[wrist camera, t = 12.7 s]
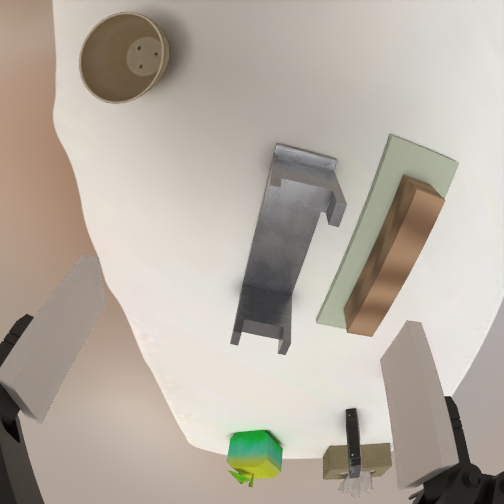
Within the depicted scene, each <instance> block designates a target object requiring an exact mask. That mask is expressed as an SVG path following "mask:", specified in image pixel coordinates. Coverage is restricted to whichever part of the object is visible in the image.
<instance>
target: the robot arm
mask: <svg viewBox="0 0 504 504" xmlns="http://www.w3.org/2000/svg"><path fill="white" fill-rule="evenodd" d="M105 306H106V302H105V297H104V290H103V284H102V277H101V270H100V263H99V258H98V257H93V256H89V255H86V254H83V256H82V257H81V258H80V259H79V260H78V262H77V263H76V264H75V265H74V266H73V268H72V269H71V270H70V271H69V273H68V274H67V275H66V277H65V278H64V279H63V280H62V281H61V283H60V284H59V285H58V286H57V288H56V289H55V290H54V292H53V293H52V294H51V295H50V297H49V298H48V299H47V301H46V302H45V304H44V305H43V306H42V307H41V309H40V310H39V311H38V313H37V314H36V316H35V317H33V316H30V315H28V314H26V315H25V316H23V317H22V318H20V319H19V320H18V321H16V323H15V324H14V326H13V327H12V328H11V330H10V331H9V334H7V335H6V337H5V338H4V341H3V342H1V344H0V504H44V501H43V499H42V496H41V493H40V490H39V487H38V485H37V482H36V479H35V476H34V473H33V470H32V466H31V463H30V460H29V457H28V452H27V449H26V445H25V442H24V438H23V434H22V429H21V425H20V420H19V417H18V415H17V414H18V412H19V410H21V411H22V412H23V413H24V415H25V416H27V417H28V418H30V419H32V420H34V421H36V422H38V423H40V424H42V422H43V420H44V418H45V416H46V414H47V412H48V410H49V408H50V406H51V403H52V402H53V400H54V398H55V396H56V394H57V392H58V390H59V388H60V386H61V384H62V382H63V380H64V378H65V376H66V375H67V373H68V371H69V369H70V367H71V365H72V363H73V362H74V360H75V357H76V356H77V354H78V353H79V351H80V349H81V347H82V345H83V344H84V342H85V340H86V338H87V337H88V335H89V333H90V331H91V330H92V328H93V326H94V325H95V323H96V321H97V320H98V318H99V316H100V314H101V313H102V311H103V309H104V308H105ZM380 362H381V367H382V373H383V378H384V384H385V390H386V396H387V402H388V409H389V415H390V422H391V430H392V437H393V445H394V453H395V463H396V473H397V485H398V490H405V489H413V488H415V487H418V486H419V485H421V484H423V486H424V489H423V490H421V491H419V492H417V493H415V494H413V495H411V496H410V497H409V499H410V500H411V499H413V498H415V497H416V499H415V500H414V501H413V504H504V472H501V473H500V474H498V475H496V476H492V475H487V474H482V473H481V471H480V469H479V468H478V467H477V466H476V465H474V464H471V463H470V459H469V455H468V450H467V445H466V441H465V437H464V433H463V429H462V424H461V420H459V419H460V416H459V413H458V408H457V406H456V404H455V403H454V401H453V400H452V398H451V396H444V394H443V390H442V387H441V383H440V380H439V376H438V373H437V370H436V366H435V363H434V360H433V357H432V354H431V350H430V347H429V344H428V341H427V338H426V335H425V332H424V330H423V327H422V324H421V322H415V321H408V320H407V321H406V323H405V324H404V326H403V327H402V329H401V330H400V332H399V333H398V335H397V336H396V338H395V339H394V341H393V342H392V344H391V345H390V347H389V348H388V349H387V351H386V352H385V354H384V355H383V357H382V358H381V359H380Z"/></svg>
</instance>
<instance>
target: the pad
mask: <svg viewBox="0 0 504 504" xmlns="http://www.w3.org/2000/svg"><path fill="white" fill-rule="evenodd" d="M458 164H459V163H458V162H456V161H454V160H452V159H450V158H448V157H445V156H443V155H441V154H439V153H436V152H434V151H432V150H429V149H427V148H424V147H422V146H419V145H417V144H414V143H412V142H409V141H407V140H404V139H402V138H399V137H396V136H394V135H391V134H390V135H389V138H388V141H387V144H386V147H385V150H384V153H383V156H382V159H381V162H380V165H379V168H378V170H377V173H376V176H375V179H374V181H373V184H372V187H371V190H370V192H369V195H368V198H367V200H366V203H365V206H364V208H363V211H362V213H361V216H360V219H359V221H358V224H357V226H356V229H355V231H354V234H353V236H352V239H351V241H350V243H349V246H348V248H347V251H346V253H345V255H344V258H343V260H342V263H341V265H340V267H339V270H338V272H337V274H336V276H335V279H334V281H333V283H332V286H331V288H330V290H329V292H328V295H327V297H326V299H325V301H324V303H323V305H322V308H321V310H320V312H319V314H318V316H317V318H316V323H317V324H323V325H328V326H333V327H339V328H344V329H346V322H345V316H344V310H343V308H344V307H345V305H346V303H347V301H348V299H349V297H350V295H351V293H352V291H353V289H354V286H355V284H356V282H357V280H358V278H359V276H360V274H361V272H362V270H363V268H364V266H365V263H366V261H367V259H368V257H369V255H370V253H371V250H372V248H373V246H374V244H375V241H376V239H377V237H378V235H379V232H380V230H381V228H382V225H383V223H384V221H385V218H386V216H387V213H388V211H389V209H390V206H391V204H392V201H393V199H394V196H395V194H396V191H397V189H398V186H399V183H400V181H401V178H402V176H403V174H404V175H407V176H410V177H412V178H415V179H418V180H421V181H423V182H426V183H428V184H430V185H431V186H432V187H433V188H434V189H435V190H436V191H437V192H438V193H439V194H440V195H441V196H442V197H443V198H444V199H445V196H446V194H447V192H448V189H449V187H450V184H451V182H452V179H453V177H454V174H455V172H456V169H457V167H458Z"/></svg>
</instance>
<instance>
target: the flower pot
mask: <svg viewBox="0 0 504 504" xmlns="http://www.w3.org/2000/svg"><path fill="white" fill-rule="evenodd" d="M138 48H140V50H139V49H138ZM155 53H157V54H155ZM169 55H170V50H169V44H168V41H167V38H166V36H165V34H164V32H163V31H162V30H161V28H160V27H159V26H158V25H157V24H156V23H155V22H153V21H152V20H151V19H149V18H147V17H146V16H144V15H141V14H138V13H134V12H120V13H116V14H113V15H110V16H108V17H106V18H105V19H103V20H102V21H100V22H99V23H98V24H97V25H96V26H95V27H94V28H93V29H92V30H91V31H90V32H89V34H88V35H87V37H86V39H85V41H84V43H83V46H82V48H81V52H80V58H79V69H80V74H81V78H82V81H83V83H84V85H85V87H86V88H87V89H88V91H89V92H90V93H91V94H92V95H93V96H95V97H96V98H98V99H100V100H102V101H104V102H107V103H114V104H119V103H125V102H129V101H132V100H134V99H136V98H138V97H140V96H141V95H143V94H145V93H146V92H147V91H148V90H150V89H151V88H152V87H153V86H154V85H155V84H156V83H157V82H158V81H159V80H160V78H161V77H162V75H163V74H164V72H165V70H166V68H167V65H168V61H169ZM141 67H142V68H141Z"/></svg>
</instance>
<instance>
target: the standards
mask: <svg viewBox="0 0 504 504" xmlns="http://www.w3.org/2000/svg"><path fill="white" fill-rule="evenodd" d="M336 164H337V160H336V159H334V158H331V157H327V156H324V155H320V154H317V153H313V152H309V151H305V150H301V149H298V148H294V147H290V146H286V145H281V144H277V145H276V149H275V153H274V157H273V162H272V166H271V170H270V174H269V178H268V182H267V186H266V190H265V194H264V199H263V203H262V207H261V211H260V215H259V219H258V223H257V227H256V231H255V236H254V240H253V244H252V248H251V252H250V256H249V260H248V264H247V268H246V273H245V277H244V281H243V285H242V289H241V293H240V297H239V303H238V308H237V313H236V318H235V323H234V328H233V333H232V337H231V342H230V344H234V345H238V343H239V340H240V336H241V332H246V333H250V334H255V335H260V336H265V337H270V338H275V339H279V345H278V354H283V355H286V353H287V351H288V348H289V346H290V344H291V313H292V292H293V290H294V287H295V284H296V281H297V279H298V276H299V273H300V270H301V268H302V265H303V262H304V259H305V256H306V254H307V251H308V248H309V245H310V242H311V239H312V236H313V233H314V231H315V228H316V225H317V222H318V219H319V216H320V213H321V212H325V213H326V215H327V219H328V224H329V225H333V226H336V227H339V225H340V222H341V219H342V217H343V214H344V211H345V209H346V206H347V203H346V201H345V198H344V196H343V193H342V190H341V188H340V185H339V183H338V180H337V178H336V175H335V173H334V170H335V167H336Z"/></svg>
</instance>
